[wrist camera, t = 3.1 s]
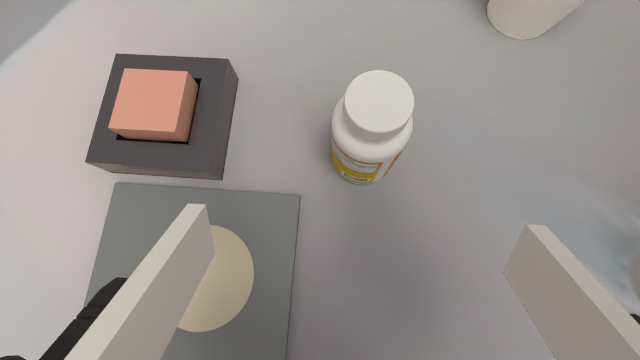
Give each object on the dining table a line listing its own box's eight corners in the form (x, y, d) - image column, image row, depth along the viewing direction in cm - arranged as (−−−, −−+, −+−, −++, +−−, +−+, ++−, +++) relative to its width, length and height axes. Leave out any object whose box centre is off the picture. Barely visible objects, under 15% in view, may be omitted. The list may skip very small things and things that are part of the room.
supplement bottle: (374, 118, 27) (398, 44, 18) (403, 170, 26) (446, 120, 16) (320, 142, 26) (316, 79, 17) (347, 195, 25) (357, 159, 16)
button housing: (238, 79, 28) (228, 58, 25) (222, 179, 26) (208, 170, 23) (137, 74, 29) (116, 53, 26) (111, 172, 26) (85, 162, 23)
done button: (198, 85, 25) (187, 71, 23) (187, 141, 24) (174, 131, 22) (140, 82, 26) (124, 68, 24) (125, 138, 24) (108, 127, 22)
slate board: (300, 196, 25) (299, 194, 25) (283, 382, 22) (281, 386, 21) (120, 184, 26) (114, 182, 25) (75, 362, 23) (67, 365, 22)
